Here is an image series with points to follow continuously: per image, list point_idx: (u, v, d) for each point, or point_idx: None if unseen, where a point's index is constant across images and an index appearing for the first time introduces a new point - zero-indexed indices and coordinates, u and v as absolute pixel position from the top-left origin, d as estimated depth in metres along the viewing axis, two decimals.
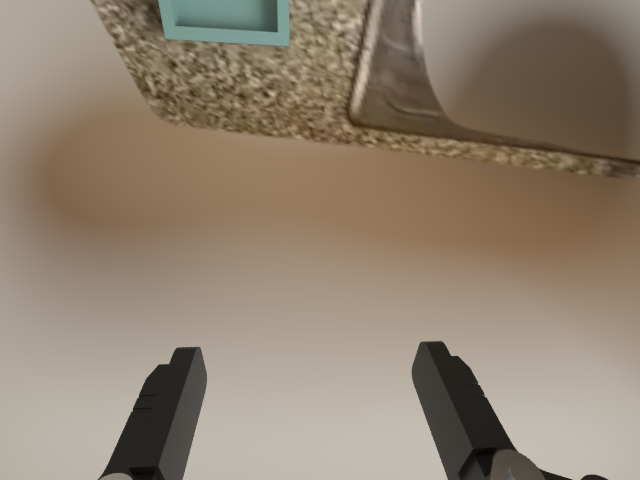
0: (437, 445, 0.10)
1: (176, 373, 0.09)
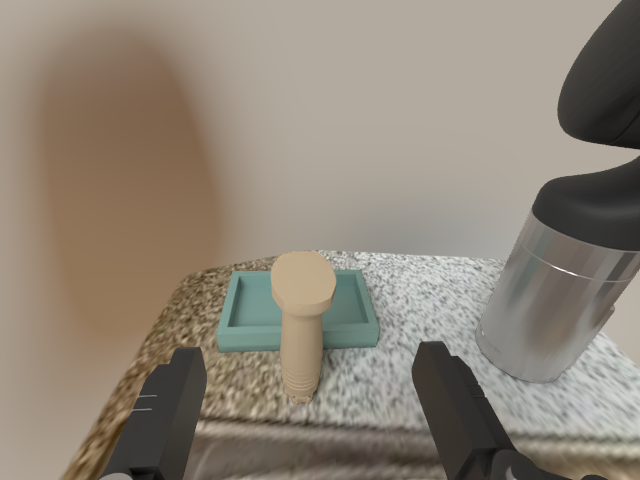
0: (437, 445, 0.10)
1: (176, 373, 0.09)
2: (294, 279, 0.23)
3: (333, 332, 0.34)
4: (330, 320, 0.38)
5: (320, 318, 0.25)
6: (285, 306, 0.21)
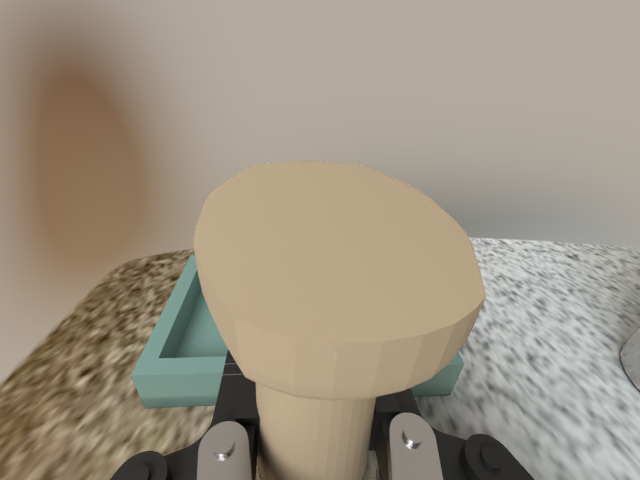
0: None
1: None
2: (293, 226, 0.06)
3: None
4: None
5: None
6: (245, 346, 0.04)
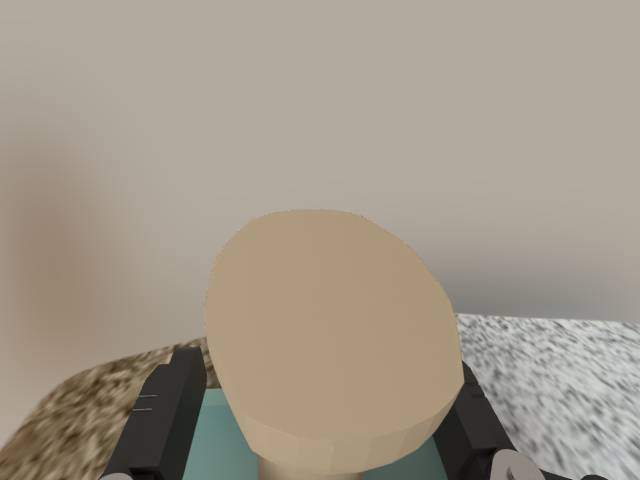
0: (437, 445, 0.10)
1: (176, 373, 0.09)
2: (294, 297, 0.06)
3: None
4: None
5: None
6: (253, 434, 0.04)
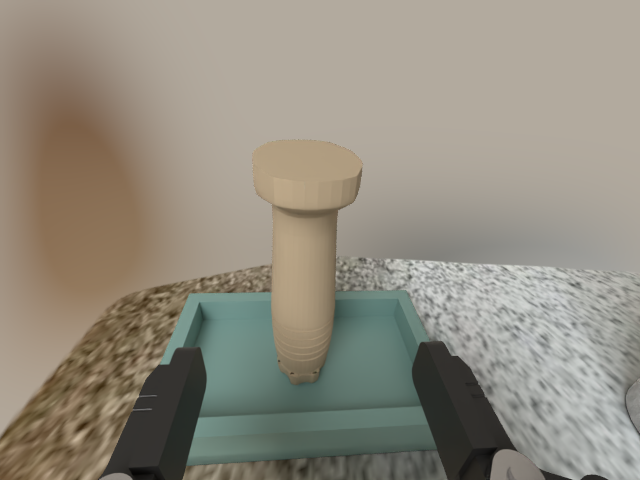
0: (437, 445, 0.10)
1: (176, 373, 0.09)
2: (291, 160, 0.13)
3: (375, 429, 0.17)
4: (362, 389, 0.20)
5: (334, 237, 0.15)
6: (276, 188, 0.12)
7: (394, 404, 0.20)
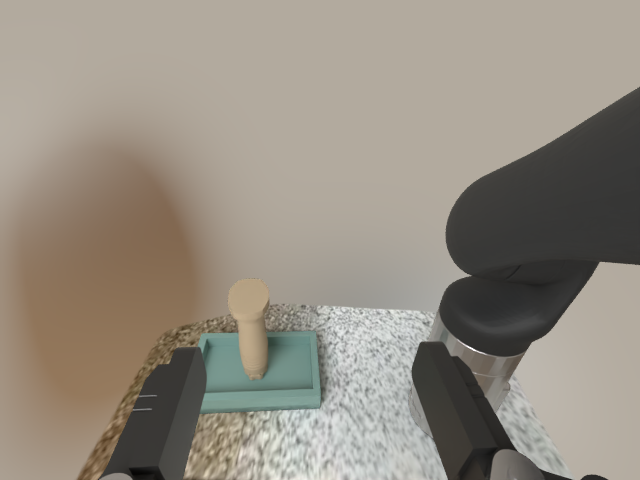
0: (437, 445, 0.10)
1: (176, 373, 0.09)
2: (242, 298, 0.37)
3: (281, 398, 0.40)
4: (283, 382, 0.44)
5: (261, 322, 0.39)
6: (234, 315, 0.35)
7: (296, 389, 0.43)
